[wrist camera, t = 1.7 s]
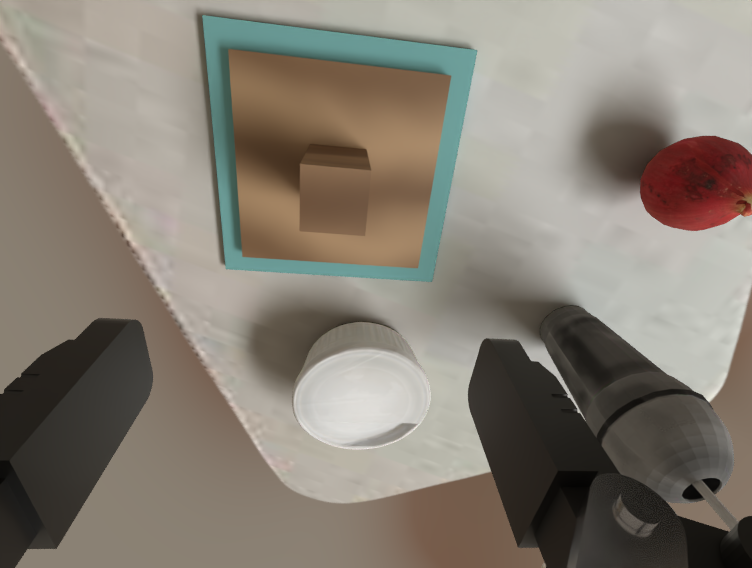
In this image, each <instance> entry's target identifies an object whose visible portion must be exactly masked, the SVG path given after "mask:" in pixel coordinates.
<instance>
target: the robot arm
mask: <svg viewBox="0 0 752 568" xmlns="http://www.w3.org/2000/svg"><path fill="white" fill-rule="evenodd" d="M152 382H153V372H152V367H151V362H150V358H149V354H148V349H147V345H146V340H145V336H144V331H143V327H142V325H141V323H140V322H139V321H138V320H130V319H110V318H98V319H96V320H94V321H93V322H92V323H91V324H90V325H89V326H88V327H87V328H86V329H85V330H84V331H83V332H82V333H81V334H80V335H79V336H78V337H77V338H76V339H75V340H67V341H65V342H63V343H62V344H60V345H58V346H56V347H55V348H53V349H51V350H49V351H47V352H46V353H44V354H42V355H41V356H40V357H39V358H37V359H36V361H34V362H33V363H32V364H31V365H30V366H29V367H28V368H27V369H26V370H25V371H24V372H23V373H22V374H21V377H20V378H19V377H18V378H16V379H15V380H14V381H13V382H12V383H11V384H10V385H9V386H7V387H6V388H5V389H4V393H3V394H0V568H15V567H16V565H17V564H18V562H19V561H20V559H21V558H22V556H23V555H24V553H25V552H26V550H27V549H57V547H58V545H59V544H60V542H61V541H62V539H63V537H64V536H65V534H66V532H67V531H68V529H69V527H70V526H71V524H72V522H73V521H74V519H75V518H76V516H77V514H78V512H79V511H80V509H81V508H82V506H83V504H84V503H85V501H86V499H87V498H88V496H89V495H90V493H91V491H92V490H93V488H94V486H95V485H96V483H97V481H98V480H99V478H100V476H101V475H102V473H103V472H104V470H105V468H106V467H107V465H108V463H109V462H110V460H111V458H112V457H113V455H114V453H115V452H116V450H117V449H118V447H119V445H120V443H121V442H122V440H123V439H124V437H125V435H126V434H127V432H128V430H129V429H130V427H131V425H132V424H133V422H134V420H135V419H136V417H137V416H138V414H139V412H140V411H141V409H142V407H143V406H144V404H145V402H146V401H147V399H148V397H149V395H150V391H151V388H152ZM567 395H568V394H567V393H566V391H565V390H564V388H563V387H562V385H561V384H560V382H559V381H558V379H557V378H556V377H555V376H554V375H553V374H552V373H551V372H549V371H548V370H547V369H546V368H545V367H544V366H542V365H541V364H540V363H539V362H534V361H531V360H530V359H529V357H528V356H527V354H526V352H525V351H524V349H523V347H522V346H521V344H520V343H519V342H518V341H517V340H507V339H487V338H486V339H484V340H483V342H482V344H481V346H480V350H479V353H478V356H477V360H476V363H475V367H474V370H473V373H472V377H471V380H470V384H469V389H468V403H469V408H470V412H471V415H472V417H473V420H474V423H475V426H476V429H477V432H478V435H479V437H480V440H481V443H482V446H483V449H484V452H485V454H486V457H487V460H488V463H489V466H490V469H491V472H492V474H493V477H494V480H495V483H496V486H497V489H498V492H499V494H500V497H501V500H502V503H503V506H504V509H505V511H506V514H507V517H508V520H509V523H510V526H511V529H512V531H513V534H514V537H515V540H516V543H517V546H518V547H519V548H535V547H536V548H537V547H539V549H540V551H541V554H542V557H543V559H544V564H543V565H542V568H752V516H748V517H745V518H743V519H742V520H740V521H739V522H738V523H737V524H736V525H735V527H734V528H733V529H732V530H731V531H730V532H728V531H725V530H722V529H718V528H715V527H712V526H709V525H706V524H703V523H699V522H696V521H693V520H690V519H687V518H683V517H680V516H677V514H676V513H675V512H674V510H673V509H672V508H671V507H670V505H669V504H668V503H667V502H666V501H665V500H664V499H663V498H662V497H661V496H660V495H658V494H657V493H656V492H655V491H654V490H652V489H651V488H649V487H648V486H646V485H645V484H643V483H641V482H639V481H637V480H635V479H633V478H631V477H628V476H625V475H621V474H620V472H619V471H618V470H617V468H616V467H615V465H614V464H613V462H612V461H611V459H610V458H609V456H608V455H607V453H606V452H605V450H604V448H603V447H602V445H601V444H600V442H599V441H598V439H597V438H596V436H595V435H594V433H593V432H592V430H591V429H590V427H589V426H588V424H587V423H586V421H585V420H584V418H583V417H582V415H581V414H580V413H578V412H577V408H576V406H575V405H574V403H573V402H572V400H571V399H570V398H568V397H567Z"/></svg>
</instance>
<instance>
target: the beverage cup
mask: <svg viewBox="0 0 752 568" xmlns="http://www.w3.org/2000/svg"><path fill="white" fill-rule="evenodd" d="M540 335H541V338H542V340H543V341H544V343H545V345H546V348H547V351H548V353H549V355H550V356H551V358H552V360H553V362H554V364H555V365H556V367H557V369H558V371H559V373H560V374H561V376H562V378H563V380H564V382H565V384H566V385H567V387H568V389H569V391H570V393H571V394H572V396H573V398H574V400H575V402H576V403H577V405H578V407H579V409H580V411H581V412H582V414H583V416H584V418H585V420H586V423H587V424H588V426H589V427H590V429H591V430H592V432H593V433H594V435H595V436H596V438H597V439H598V441H599V442H600V444H601V445H602V447H603V448H604V450H605V452H606V453H607V455H608V456H609V458H610V459H611V461H612V462H613V464H614V465H615V467H616V468H617V470H618V471H619V472H620V474H621V475H625V476H628V477H631V478H633V479H635V480H637V481H639V482H641V483H643V484H645V485H646V486H648V487H649V488H651V489H652V490H654V491H655V492H656V493H657V494H658V495H660V496H661V497H662V498H663V499H664V500H665V501H667V502H671V503H693V502H698V501H702V500H706V501H707V502H708V503H709V505H710V506H711V507H712V508H713V509H714V510H715V512H716V513H717V514H718V515H719V516H720V517H721V519H722V520H723V521H724V522H725V523H726V525H727V526H728V527H729V528H730V529H731V530H732V529H733V528H734V527H735V525H736V524H737V523H738V521H737V520H736V518H735V517H734V516H733V515H732V514H731V513H730V512H729V511H728V509H727V508H726V507H725V506H724V505H723V504H722V503H721V502H720V500H719V499H718V498H717V497H716V496H715V494H716V493H717V492H719V491H720V490H721V489H722V488H723V487H724V486H725V485H726V483H727V481H728V480H729V478H730V476H731V473H732V471H733V466H734V454H733V445H732V441H731V437H730V434H729V433H728V430H727V428H726V426H725V425H724V423H723V422H722V420H721V419H720V418H719V417H718V415H717V414H716V413H715V412H714V410H713V408H712V406H711V405H710V403H709V402H708V401H707V400H706V399H705V398H704V396H703V395H701V394H699V393H696V392H694V391H693V390H692V389H691V388H689V387H688V386H686V385H685V384H683V383H682V382H680V381H678V380H677V379H675V378H674V377H672V376H669V375H667V374H666V373H665V372H663V371H662V370H661V369H660V368H658V367H657V366H656V365H655V364H653V363H652V362H651V361H650V360H648V359H647V358H646V357H645V356H643V355H642V354H641V353H640V352H638V351H637V350H636V349H635V348H633V347H632V346H631V345H630V344H629V343H627V342H626V341H625V340H624V339H622V338H621V337H620V336H619V335H617V334H616V333H615V332H614V331H612V330H611V329H610V328H609V327H607V326H606V325H605V324H604V323H602V322H601V321H600V320H599V319H597V318H596V317H594V316H592V315H591V314H590V313H588V312H587V311H586V310H585V309H583V308H581V307H579V306H565V307H562V308H559V309H557V310H555V311H553V312H552V313H551V314H549V315H548V316H547V317H546V319H545V320H544V321H543V323H542V325H541V328H540Z"/></svg>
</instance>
